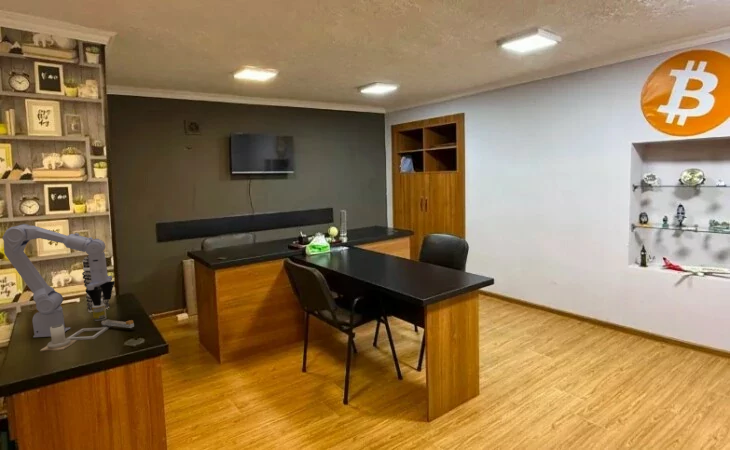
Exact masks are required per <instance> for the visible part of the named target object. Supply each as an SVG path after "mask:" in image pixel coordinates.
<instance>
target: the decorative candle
mask: <svg viewBox="0 0 730 450" xmlns="http://www.w3.org/2000/svg"><path fill="white" fill-rule="evenodd" d="M81 262H82V265H83V266H82V269H83V272H82V273H81V274H82V279H84V280H83V283H84V284H83V287H85V288H86V289H87V285H89V284H90V282H91V273H90V266H89V255H87V256H84V257H83V259H82V260H81ZM97 288H98V289H99V288H101V287H100V286H98V287H97ZM86 289H85V290H86ZM85 298H86V302H87V304H86V306H87V312H88V313H91V312H93V311H92V306H93V304H92V299H91V297H90V296H89V295H88V294H87V293H86V296H85ZM101 299H103V302H104V304H105V309H107V310H109V309H110V300H105V299H104V296H103V292H102V293H101ZM108 308H109V309H108Z"/></svg>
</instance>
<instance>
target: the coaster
mask: <svg viewBox="0 0 730 450" xmlns="http://www.w3.org/2000/svg"><path fill="white" fill-rule="evenodd" d="M77 342H78V340H71V343H70V344H69V345H67V346H64V347H61V348H56V349H49V348H48V345H46V346H44V347H42V348H41V349H40V350H39V352H53V351H54V352H55V351H57V352H58V351H64V350H66V349H68V348H69V347H71V346H72V345H74V344H75V343H77Z"/></svg>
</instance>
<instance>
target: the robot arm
mask: <svg viewBox="0 0 730 450" xmlns="http://www.w3.org/2000/svg"><path fill="white" fill-rule="evenodd" d="M37 239H41V240H46V241H51V242H55V243H60V244H63V245H64V247H65V248H67V249H70V250H75V251H78V252H82V253H86V254H87V256H89V266H90V273H91V282H90V284H89V285H87V289H85V292H86V295H87V294H88V295H89V296H90V297H91V299H92V301H93V304H94V306H100V305H101V293H102V292H103V296H104V299H105V300H109V301H110V300H111V299H112V293H113V289H114V285H116V281H114V280H113V276H112V275H109V274H108V266H107V258H106V253H105V250H106V243H105V242H104V241H103V240H102V239H100V238H93V237H87V236H83V235H80V233H77V232H75V233H70V234H67V235H66V234H63V233H60V232H58V231H57V232H56V231H54V230H50V229H47V228H44V227H40V226H36V225H29V224H28V223H22V224H18V225H15V226H11V227H9V228H7V229H6V230H5V232H4V233H3V235H2V240H3V252H4V253H3V254H4V256H5V257H6V258H7V260H8V261H9V262H10V264H11V265H12V266H13V268H14V269H15V270H16V272H17V273H18V275H19V276H20V277H21V278H22V280H23V281H24V283H25V284H26V286H27V287H28V289H29V290H30V291H31V292H32V295H33V301H34V302H35V307H36V310H37V312H35V313H34V314H33V317H32V327H33V333H34V335H32V336H33V337H32V338H46V337H51V332H50V327H52V326H53V325H57V324H63V325H64V332H65V333H66V332H67V331H69V330H70V329H71V328H72V327H66V325H65V319H64V317H65V315H64V310H63V309H64V308H63V307H62V304H63V301H64V297H63V295H62V294H61V293H60V292H58V291H56V290H55V289H54V287H52V286H51V285H49V284H48V283H47V282H46V280H45V278H43V276H42V275H41V274H40V272H39V270H38V269H37V267H35V265H34V263H33V262H32V261H31V259H30V258H29V257H28V255H27V254H26V253H25V249H26V248H27V244H28V243H29V242H30V241H31V240H37ZM98 286H100V287H101V288H99V289H98V288H97V287H98Z"/></svg>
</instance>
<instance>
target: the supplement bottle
mask: <svg viewBox="0 0 730 450" xmlns="http://www.w3.org/2000/svg"><path fill="white" fill-rule="evenodd" d="M92 304H93V301H92ZM92 311H93V313H92V317H93V321H95V322H99V321H102V320H106V319H107V318H108V317H107V310H106V309H105V304H104V302H103V299H101V305H100V306H94V304H93V306H92Z"/></svg>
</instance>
